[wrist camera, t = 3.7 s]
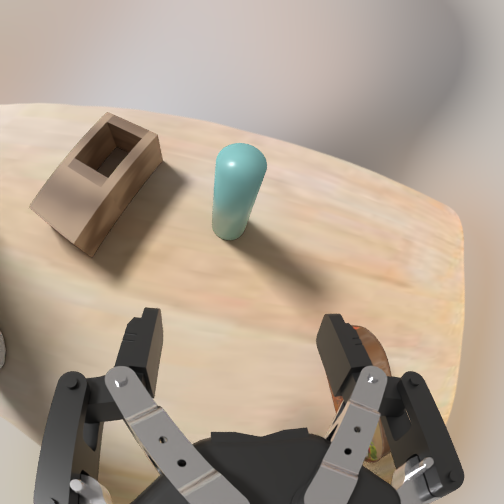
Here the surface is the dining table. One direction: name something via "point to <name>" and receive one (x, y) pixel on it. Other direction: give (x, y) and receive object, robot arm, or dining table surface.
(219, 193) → the peg
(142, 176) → the socket
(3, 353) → the water bottle
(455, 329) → the dining table surface
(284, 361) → the dining table surface
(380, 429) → the tin
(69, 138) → the dining table surface
